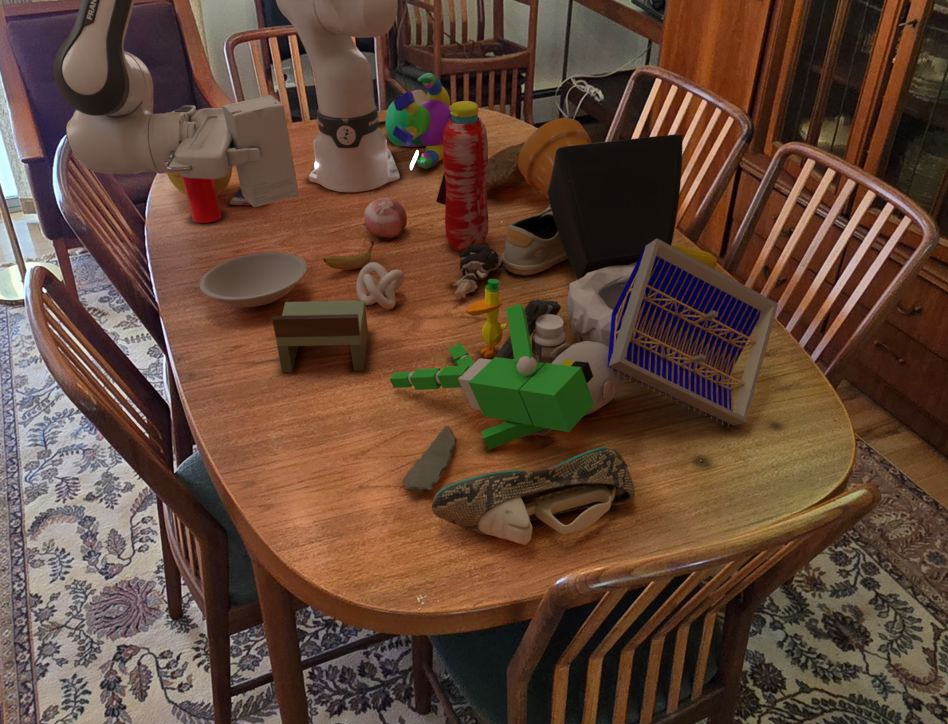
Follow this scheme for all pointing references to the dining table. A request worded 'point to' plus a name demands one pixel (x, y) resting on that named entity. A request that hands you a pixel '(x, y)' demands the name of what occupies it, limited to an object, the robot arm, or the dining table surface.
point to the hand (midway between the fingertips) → (265, 142)
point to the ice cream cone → (419, 96)
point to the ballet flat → (538, 496)
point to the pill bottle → (547, 337)
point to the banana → (349, 260)
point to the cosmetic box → (263, 150)
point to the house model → (689, 332)
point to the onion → (385, 218)
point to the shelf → (321, 329)
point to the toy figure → (489, 317)
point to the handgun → (530, 322)
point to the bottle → (202, 199)
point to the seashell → (504, 169)
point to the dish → (254, 278)
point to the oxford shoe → (533, 244)
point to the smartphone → (239, 199)
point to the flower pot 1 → (548, 150)
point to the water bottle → (465, 177)
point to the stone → (431, 463)
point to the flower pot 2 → (615, 198)
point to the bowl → (596, 302)
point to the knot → (379, 285)
